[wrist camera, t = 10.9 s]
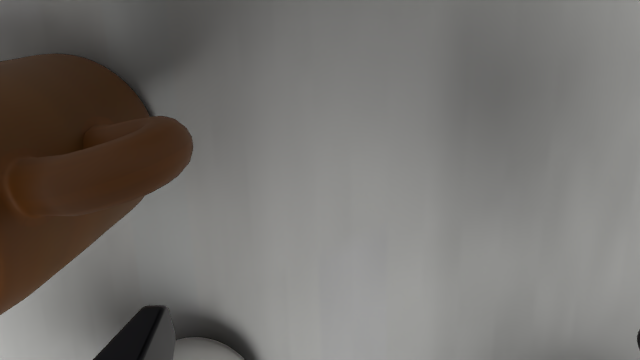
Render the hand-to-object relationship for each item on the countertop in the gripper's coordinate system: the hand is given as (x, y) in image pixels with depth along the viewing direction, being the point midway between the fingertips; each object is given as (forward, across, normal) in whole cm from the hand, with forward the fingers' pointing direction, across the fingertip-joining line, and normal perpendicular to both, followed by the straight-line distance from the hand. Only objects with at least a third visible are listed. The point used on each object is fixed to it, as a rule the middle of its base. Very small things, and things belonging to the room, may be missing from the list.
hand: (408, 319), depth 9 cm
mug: (+13, +10, +3) cm, 17 cm away
